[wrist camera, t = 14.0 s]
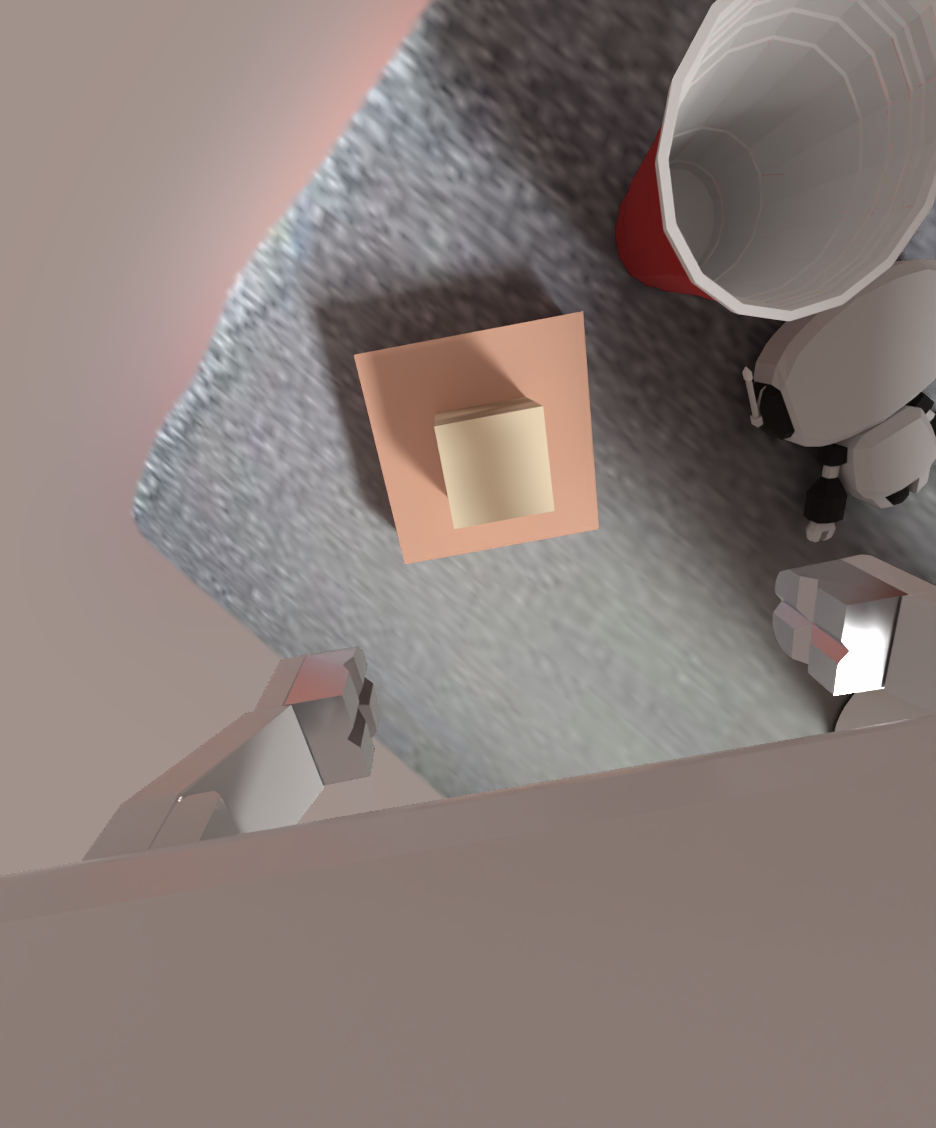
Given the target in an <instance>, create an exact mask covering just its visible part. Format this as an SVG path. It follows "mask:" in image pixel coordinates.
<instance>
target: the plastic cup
mask: <svg viewBox="0 0 936 1128" xmlns="http://www.w3.org/2000/svg"><path fill="white" fill-rule="evenodd" d="M935 197H936V0H717V1H716V2H714V3H713V4H712V5H711V7H710V9H709V11H708V13H707V15H706V17H705V19H704V21H703V22H702V24H701V26H700V28H699V30H698V32H697V34H696V36H695V37H694V39H693V41H692V43H691V45H690V47H689V49H688V51H687V52H686V54H685V56H684V58H683V60H682V62H681V64H680V66H679V68H678V69H677V71H676V73H675V75H674V77H673V79H672V82H671V84H670V87H669V92H668V97H667V102H666V107H665V113H664V118H663V123H662V125H661V127H660V129H659V131H658V133H657V137H656V139H655V141H654V143H653V144H652V146H651V148H650V150H649V151H648V153H647V155H646V157H645V158H644V160H643V162H642V164H641V166H640V168H639V169H638V171H637V173H636V175H635V177H634V178H633V180H632V182H631V184H630V186H629V190H628V192H627V193H626V195H625V197H624V199H623V201H622V202H621V204H620V209H619V214H618V219H617V224H616V230H615V236H616V243H617V250H618V256H619V257H620V259H621V261H622V263H623V264H624V266H625V268H626V270H627V271H628V273H629V274H630V275H631V276H633V277H634V278H636V279H637V280H638V281H640V282H641V283H643V284H644V285H646V286H649V287H656V288H659V289H660V290H662V291H668V292H675V293H683V294H690V295H697V296H702V297H703V298H705V299H709V300H715V301H716V302H719V303H720V304H722V305H723V306H724V307H726V308H727V309H728V310H730V311H731V312H733V313H736V314H741V315H748V316H755V317H761V318H768V319H775V320H782V321H793V320H796V319H799V318H802V317H805V316H809V315H812V314H815V313H818V312H821V311H824V310H828V309H831V308H834V307H837V306H840V305H843V304H844V303H845V302H847V301H848V300H849V299H851V298H852V297H853V296H854V295H856V294H857V293H858V292H859V291H861V290H862V289H863V288H864V287H866V286H867V285H868V284H870V283H871V282H872V281H873V280H875V279H876V278H877V277H878V276H880V275H881V274H882V273H884V272H885V271H886V270H887V269H889V268H890V267H891V266H892V265H893V264H894V262H895V261H896V259H897V258H898V256H899V255H900V253H901V252H902V251H903V249H904V248H905V246H906V245H907V243H908V242H909V240H910V239H911V238H912V236H913V235H914V233H915V232H916V230H917V229H918V227H919V226H920V225H921V223H922V222H923V220H924V219H925V217H926V216H927V214H928V213H929V212H930V210H931V209H932V206H933V203H934V200H935Z"/></svg>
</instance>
